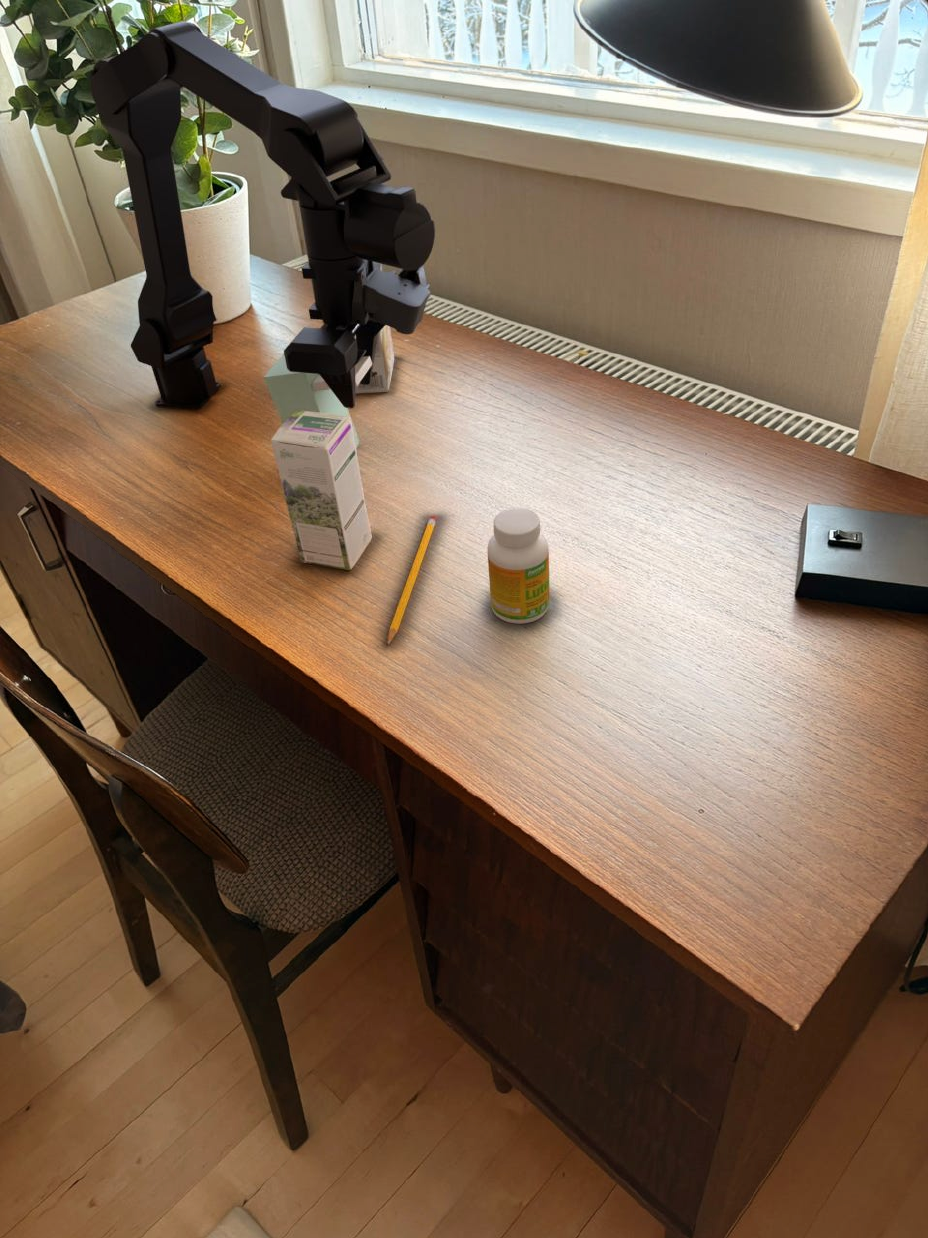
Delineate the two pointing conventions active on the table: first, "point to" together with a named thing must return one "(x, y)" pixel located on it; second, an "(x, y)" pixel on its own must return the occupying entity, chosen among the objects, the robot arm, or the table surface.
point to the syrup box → (323, 488)
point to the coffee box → (380, 362)
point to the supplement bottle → (518, 567)
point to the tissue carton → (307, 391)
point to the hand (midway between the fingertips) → (357, 395)
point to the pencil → (411, 579)
